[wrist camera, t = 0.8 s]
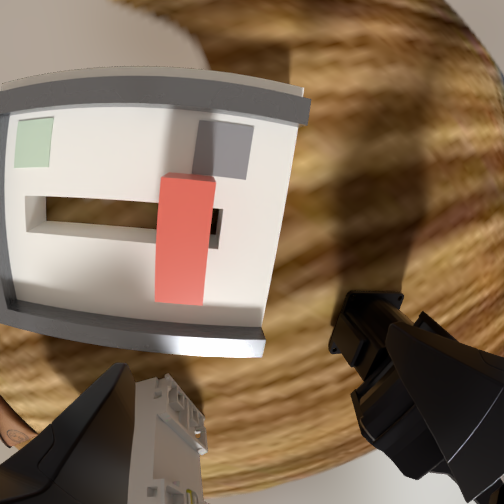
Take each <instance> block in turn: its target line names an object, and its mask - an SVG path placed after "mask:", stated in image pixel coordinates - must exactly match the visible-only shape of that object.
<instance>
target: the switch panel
mask: <svg viewBox="0 0 504 504" xmlns="http://www.w3.org/2000/svg"><path fill="white" fill-rule="evenodd" d="M103 76H167V77H183V78H195V79H205V80H214V81H221V82H229V83H235V84H242V85H248V86H254V87H259V88H264V89H269V90H274V91H279V92H283V93H288V94H292V95H296V96H300V97H303V93H304V88H302V87H298V86H294V85H290V84H286V83H282V82H277V81H273V80H268V79H263V78H258V77H252V76H246V75H240V74H234V73H227V72H220V71H212V70H202V69H192V68H178V67H157V66H122V67H121V66H120V67H100V68H87V69H77V70H68V71H61V72H54V73H47V74H42V75H37V76H31V77H26V78H22V79H17V80H13V81H9V82H5V83H2V87H1V91H4V90H9V89H13V88H18V87H22V86H27V85H33V84H38V83H45V82H51V81H58V80H67V79H76V78H87V77H103ZM297 131H298V127H294V126H289V125H284V124H279V123H274V122H269V121H264V120H258V119H252V118H246V117H240V116H233V115H226V114H218V113H210V112H201V111H191V110H180V109H166V108H145V107H91V108H72V109H59V110H48V111H39V112H31V113H24V114H17V115H11V116H10V118H9V125H8V133H7V143H6V156H5V182H4V193H5V220H6V233H7V243H8V251H9V259H10V265H11V272H12V277H13V283H14V288H15V293H16V297H17V299H18V300H22V301H27V302H32V303H37V304H42V305H48V306H53V307H59V308H64V309H70V310H76V311H83V312H89V313H96V314H103V315H111V316H118V317H127V318H135V319H144V320H154V321H165V322H176V323H189V324H204V325H221V326H244V327H261V326H262V321H263V317H264V312H265V307H266V302H267V297H268V292H269V287H270V282H271V277H272V271H273V266H274V261H275V256H276V251H277V245H278V240H279V235H280V229H281V224H282V218H283V213H284V207H285V202H286V196H287V190H288V185H289V179H290V173H291V167H292V161H293V155H294V149H295V143H296V137H297ZM169 172H172V173H184V174H194V175H204V176H213V177H214V178H215V181H216V189H215V196H214V204H213V208H218V209H219V213H218V221H217V229H216V235H213V234H210V237H209V246H208V255H207V265H206V275H205V285H204V296H203V306H198V305H185V304H173V303H162V302H155V255H156V233H157V229H147V228H135V227H123V226H111V225H98V224H85V223H72V222H59V221H46V196H53V197H76V198H95V199H112V200H127V201H141V202H153V203H159V193H160V182H161V177H162V176H164V175H165V174H167V173H169Z"/></svg>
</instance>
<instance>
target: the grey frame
mask: <svg viewBox="0 0 504 504" xmlns="http://www.w3.org/2000/svg"><path fill="white" fill-rule="evenodd" d="M310 105H311V99H308V98H304V97H300V96H296V95H292V94H288V93H283V92H279V91H274V90H269V89H264V88H259V87H254V86H248V85H242V84H235V83H229V82H221V81H214V80H205V79H195V78H183V77H167V76H103V77H87V78H76V79H67V80H58V81H51V82H45V83H38V84H33V85H27V86H22V87H18V88H13V89H9V90H4V91H0V323H1V324H5V325H8V326H12V327H16V328H19V329H23V330H27V331H31V332H35V333H39V334H44V335H48V336H53V337H57V338H62V339H67V340H72V341H78V342H83V343H89V344H95V345H101V346H108V347H114V348H122V349H129V350H138V351H146V352H156V353H167V354H179V355H194V356H213V357H262V355H263V351H264V346H265V342H266V339H265V336H264V333H263V330H262V327H244V326H221V325H204V324H189V323H176V322H165V321H154V320H144V319H135V318H127V317H118V316H111V315H103V314H96V313H89V312H83V311H76V310H70V309H64V308H59V307H53V306H48V305H42V304H37V303H32V302H27V301H22V300H18V299H17V297H16V293H15V288H14V283H13V277H12V272H11V265H10V259H9V251H8V243H7V233H6V220H5V193H4V182H5V156H6V143H7V133H8V125H9V118H10V116H11V115H17V114H24V113H31V112H39V111H48V110H59V109H72V108H91V107H145V108H166V109H180V110H191V111H201V112H210V113H218V114H226V115H233V116H240V117H246V118H252V119H258V120H264V121H269V122H274V123H279V124H284V125H289V126H294V127H303V126H307V124H308V118H309V111H310Z"/></svg>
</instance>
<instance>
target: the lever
mask: <svg viewBox="0 0 504 504" xmlns="http://www.w3.org/2000/svg"><path fill="white" fill-rule="evenodd" d="M215 189H216V181H215V178H214V177H213V176H204V175H194V174H184V173H172V172H169V173H167V174H165V175H164V176H162V177H161V182H160V193H159V204H158V217H157V233H156V255H155V302H162V303H173V304H185V305H198V306H203V296H204V285H205V275H206V265H207V255H208V246H209V237H210V228H211V220H212V212H213V204H214V196H215Z"/></svg>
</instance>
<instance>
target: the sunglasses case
mask: <svg viewBox="0 0 504 504" xmlns="http://www.w3.org/2000/svg"><path fill="white" fill-rule="evenodd" d="M37 435H38V433H37V432H35V431H34V430H33V429H32V428H31V427H30V426H29V425H27V424H26V423H25V422H24V421H23V420H22V419H21V418H20V417H19V416H18V415H17V414H16V413H15V412H14V411H13V409H12V408H11V407H10V406H9V405H8V404H7V403H6V402H5V400H4V399H3V398H2V397H1V396H0V440H1V441H2V442H3V443H4V444H5V445H6V446H7V447H8V448H11V447H12V446H14V445H17V444H19V443H21V442H24V441H26V440H28V439H30V438H33V437H35V436H37Z"/></svg>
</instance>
